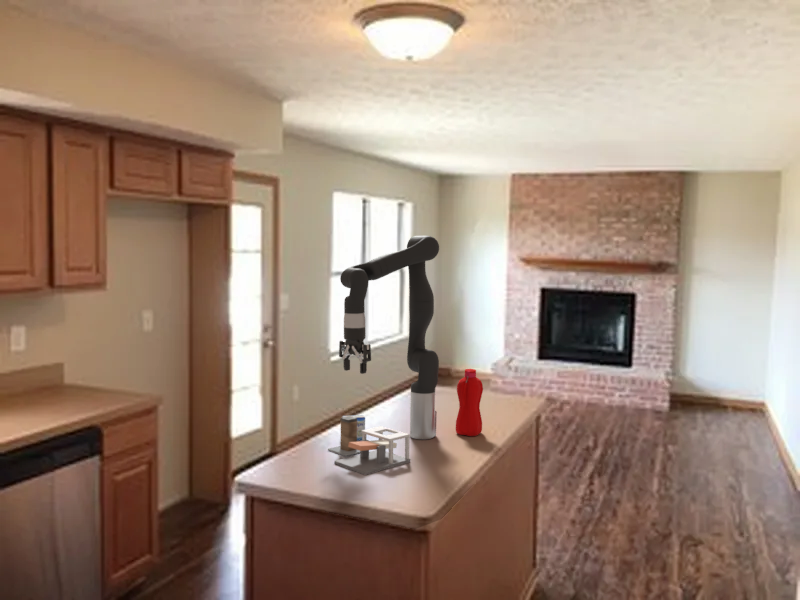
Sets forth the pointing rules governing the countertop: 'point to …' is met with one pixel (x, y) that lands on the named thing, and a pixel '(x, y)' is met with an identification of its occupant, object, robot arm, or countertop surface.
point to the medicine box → (359, 425)
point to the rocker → (370, 444)
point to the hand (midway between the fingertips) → (354, 371)
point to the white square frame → (377, 453)
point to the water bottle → (469, 404)
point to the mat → (343, 452)
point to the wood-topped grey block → (348, 432)
